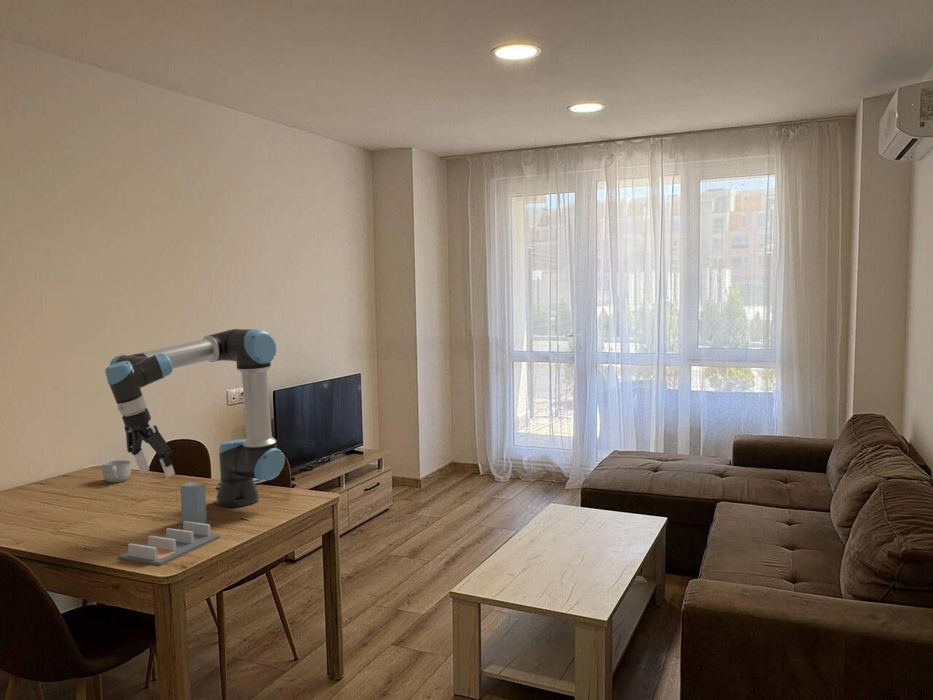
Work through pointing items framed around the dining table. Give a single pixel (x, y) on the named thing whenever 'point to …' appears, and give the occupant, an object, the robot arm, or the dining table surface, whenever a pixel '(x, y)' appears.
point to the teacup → (116, 470)
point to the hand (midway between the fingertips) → (157, 473)
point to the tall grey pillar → (193, 502)
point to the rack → (171, 544)
